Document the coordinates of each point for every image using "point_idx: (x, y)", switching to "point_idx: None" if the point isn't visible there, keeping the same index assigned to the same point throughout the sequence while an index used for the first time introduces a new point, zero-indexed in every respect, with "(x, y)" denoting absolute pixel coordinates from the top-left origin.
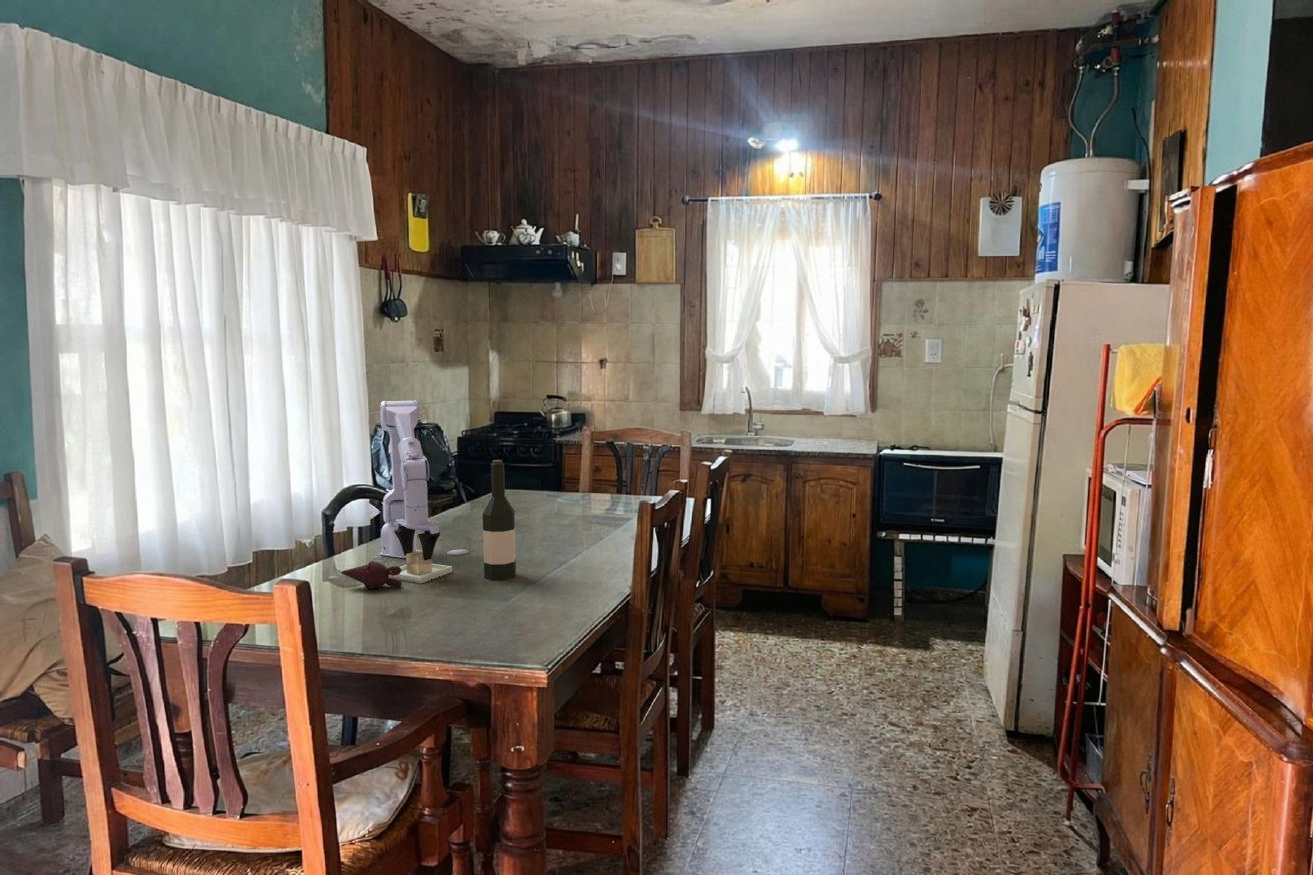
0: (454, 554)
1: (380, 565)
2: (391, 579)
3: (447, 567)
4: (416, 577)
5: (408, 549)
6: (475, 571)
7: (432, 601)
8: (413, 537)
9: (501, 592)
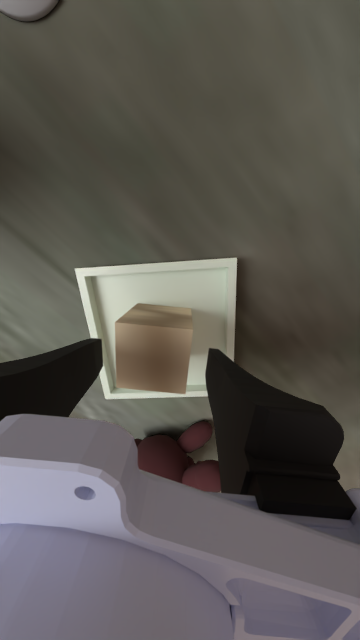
0: (43, 7)
1: None
2: (194, 449)
3: (231, 277)
4: None
5: (89, 367)
6: (304, 207)
7: (340, 456)
8: (46, 365)
9: None
